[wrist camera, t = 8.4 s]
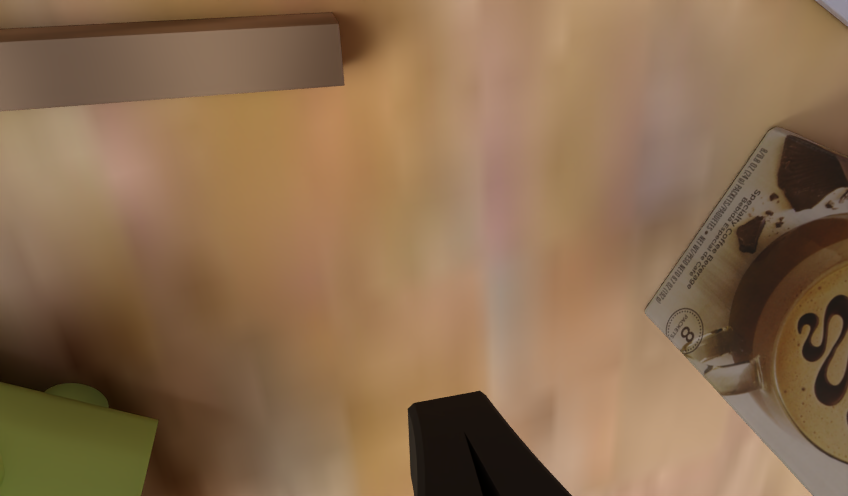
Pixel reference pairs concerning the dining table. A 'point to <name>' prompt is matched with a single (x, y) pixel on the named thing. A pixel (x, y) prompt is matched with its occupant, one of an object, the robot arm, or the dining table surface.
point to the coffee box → (774, 305)
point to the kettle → (70, 443)
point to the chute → (167, 59)
